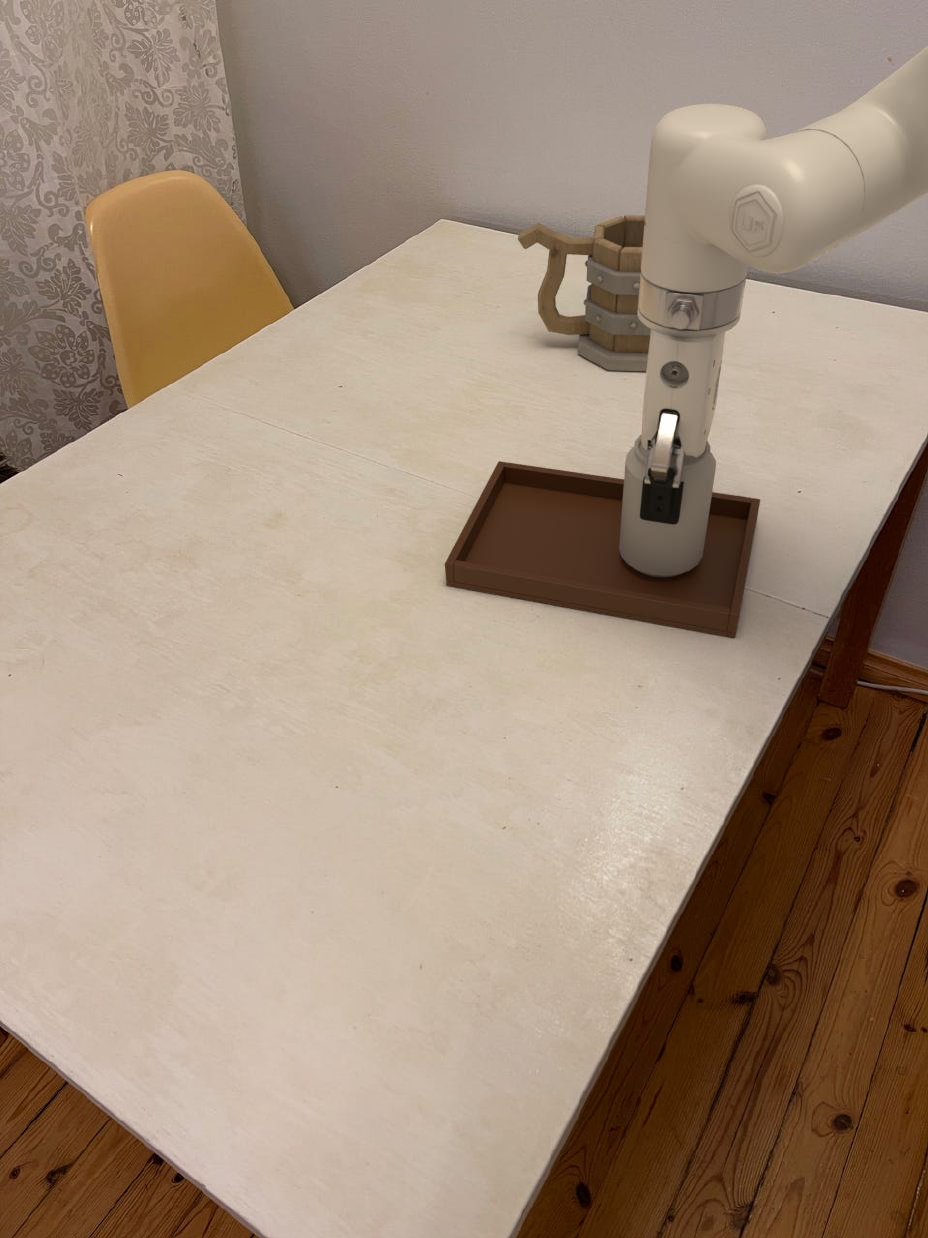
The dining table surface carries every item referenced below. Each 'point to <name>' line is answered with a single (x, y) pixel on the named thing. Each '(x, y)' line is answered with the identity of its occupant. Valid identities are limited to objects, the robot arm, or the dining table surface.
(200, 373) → the dining table surface
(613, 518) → the tray
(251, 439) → the dining table surface
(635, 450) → the can
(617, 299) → the tankard
